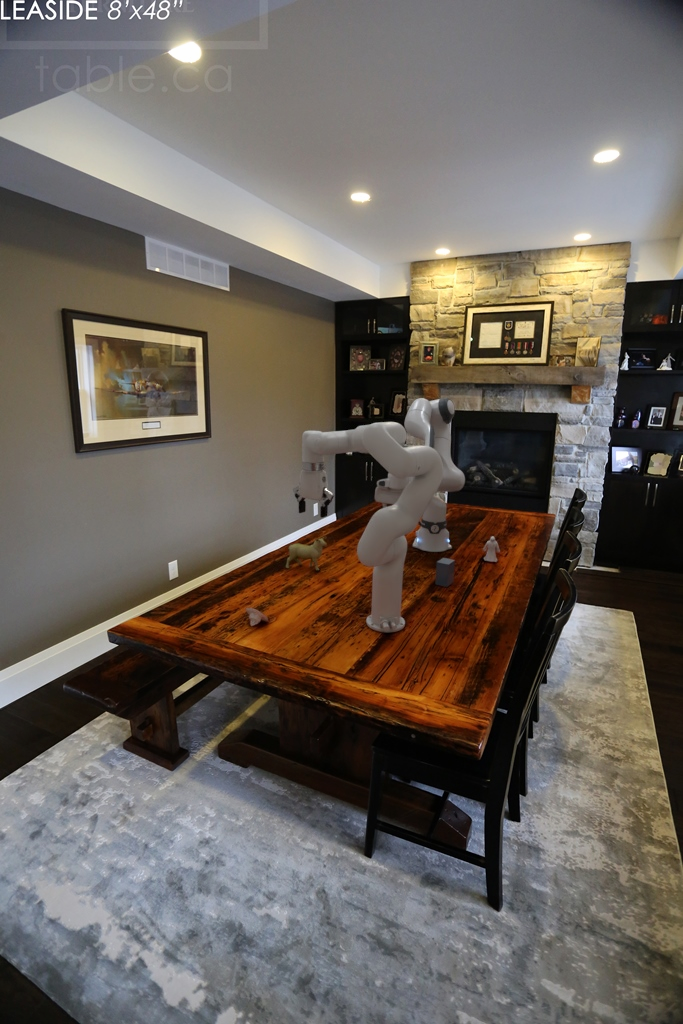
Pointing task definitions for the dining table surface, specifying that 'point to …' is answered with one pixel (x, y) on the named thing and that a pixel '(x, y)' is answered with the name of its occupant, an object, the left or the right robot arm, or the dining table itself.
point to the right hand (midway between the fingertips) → (396, 515)
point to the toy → (306, 552)
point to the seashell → (255, 616)
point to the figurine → (491, 550)
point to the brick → (445, 572)
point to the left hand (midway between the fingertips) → (312, 514)
